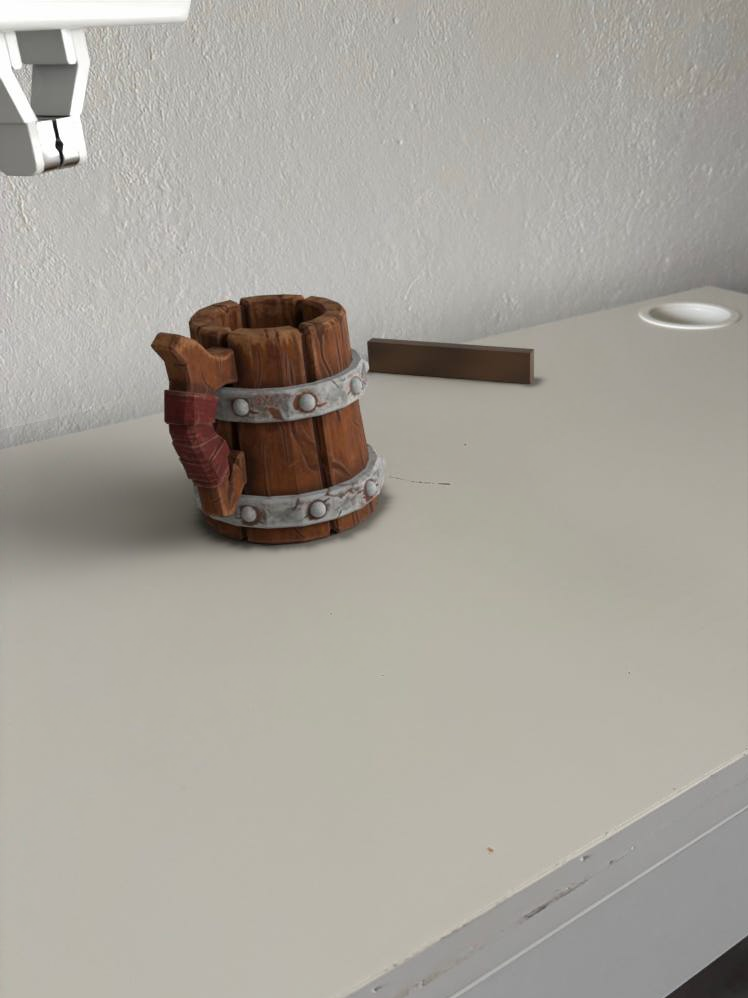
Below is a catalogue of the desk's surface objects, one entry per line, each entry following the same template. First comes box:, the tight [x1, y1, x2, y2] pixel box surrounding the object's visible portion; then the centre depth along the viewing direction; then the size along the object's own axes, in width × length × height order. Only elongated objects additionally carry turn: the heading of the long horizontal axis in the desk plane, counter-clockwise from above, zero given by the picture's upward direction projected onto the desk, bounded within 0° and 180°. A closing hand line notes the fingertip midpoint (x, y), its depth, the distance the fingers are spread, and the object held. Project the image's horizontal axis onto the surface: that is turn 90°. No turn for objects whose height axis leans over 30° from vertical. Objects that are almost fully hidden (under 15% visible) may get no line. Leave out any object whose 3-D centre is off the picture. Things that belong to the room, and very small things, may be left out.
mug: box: [150, 293, 387, 545], centre depth 59 cm, size 12×14×15 cm
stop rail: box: [366, 337, 535, 385], centre depth 84 cm, size 14×1×2 cm, turn 72°
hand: (45, 170), depth 40 cm, fingers closed
